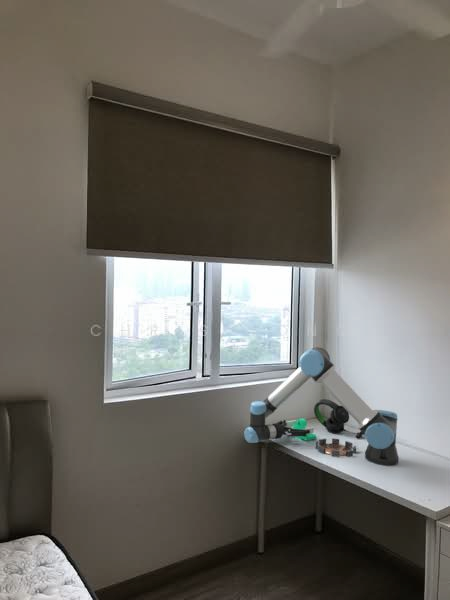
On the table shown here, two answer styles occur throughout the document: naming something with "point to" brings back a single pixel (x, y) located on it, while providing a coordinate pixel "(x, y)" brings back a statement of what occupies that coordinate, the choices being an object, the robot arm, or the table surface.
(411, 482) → the table surface
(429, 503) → the table surface
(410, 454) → the table surface
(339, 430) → the headset
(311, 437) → the camera mount
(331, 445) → the ring collar
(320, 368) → the robot arm
